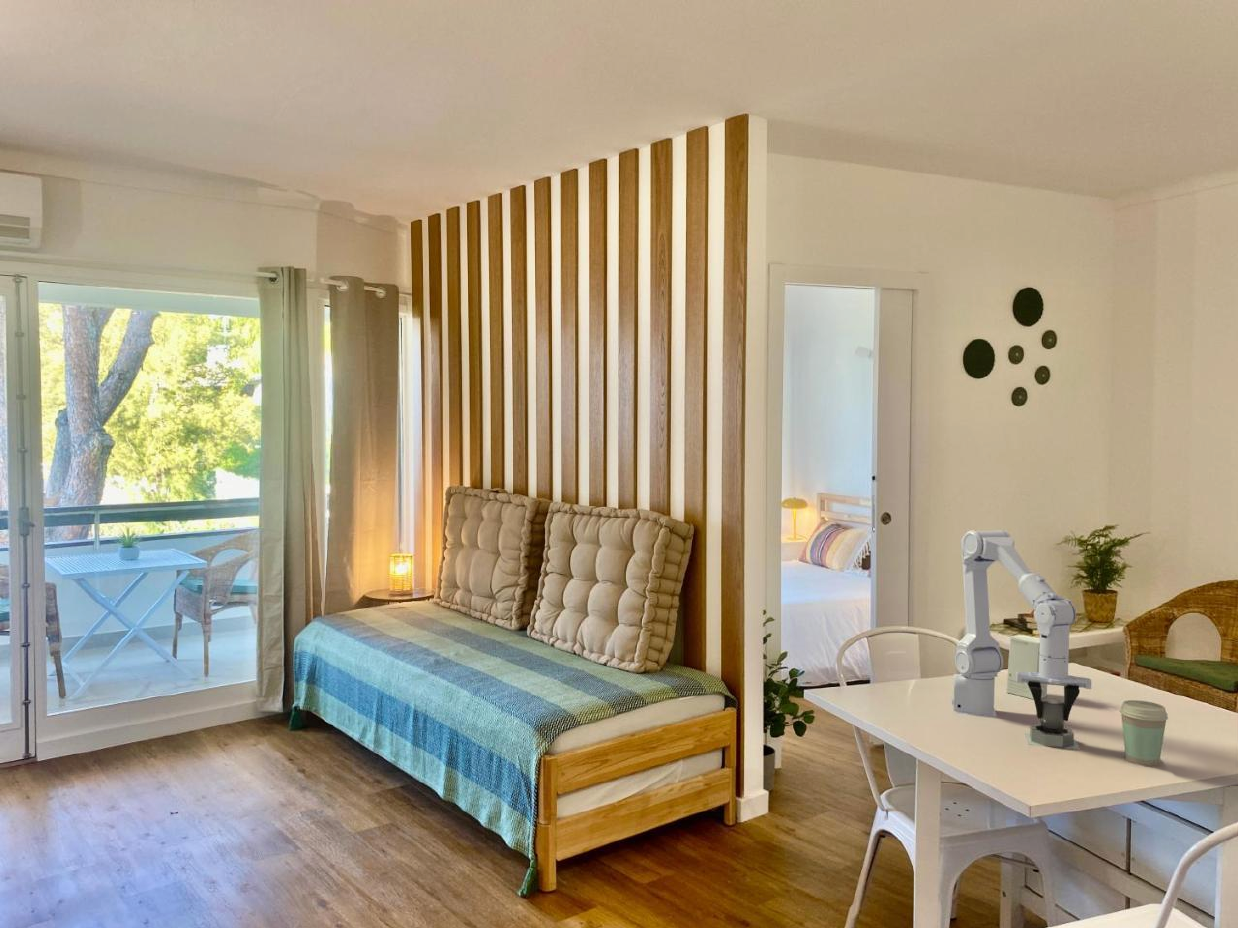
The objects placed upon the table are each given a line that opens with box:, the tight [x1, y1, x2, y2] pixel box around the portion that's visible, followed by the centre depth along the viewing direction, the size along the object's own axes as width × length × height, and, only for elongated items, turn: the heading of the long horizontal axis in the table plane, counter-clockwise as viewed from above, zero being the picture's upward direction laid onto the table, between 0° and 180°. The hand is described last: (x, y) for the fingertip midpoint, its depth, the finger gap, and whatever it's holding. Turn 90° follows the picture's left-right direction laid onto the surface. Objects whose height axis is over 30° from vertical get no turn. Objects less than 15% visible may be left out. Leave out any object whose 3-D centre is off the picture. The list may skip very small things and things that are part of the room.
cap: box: [1039, 698, 1065, 729], centre depth 200 cm, size 5×5×5 cm
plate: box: [1024, 732, 1081, 751], centre depth 200 cm, size 10×8×1 cm
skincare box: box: [1005, 634, 1048, 700], centre depth 239 cm, size 8×6×15 cm
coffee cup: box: [1119, 699, 1169, 767], centre depth 188 cm, size 9×8×12 cm
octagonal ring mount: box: [1029, 723, 1075, 749], centre depth 200 cm, size 8×8×2 cm
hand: (1052, 718), depth 200 cm, fingers closed on cap, 5 cm apart
